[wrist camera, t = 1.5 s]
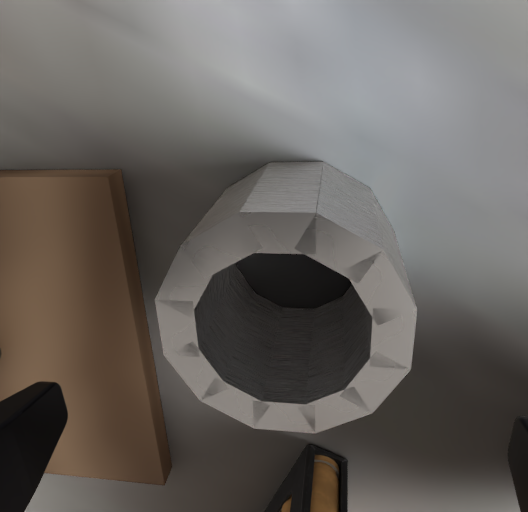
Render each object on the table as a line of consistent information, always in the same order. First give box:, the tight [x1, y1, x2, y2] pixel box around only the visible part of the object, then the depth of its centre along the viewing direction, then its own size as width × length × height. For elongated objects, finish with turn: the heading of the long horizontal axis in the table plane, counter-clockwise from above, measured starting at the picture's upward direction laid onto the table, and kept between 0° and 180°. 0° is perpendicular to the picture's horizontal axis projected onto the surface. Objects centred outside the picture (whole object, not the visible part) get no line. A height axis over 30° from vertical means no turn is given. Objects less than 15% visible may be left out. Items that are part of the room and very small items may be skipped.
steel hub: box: [155, 162, 417, 434], centre depth 14 cm, size 6×6×5 cm
